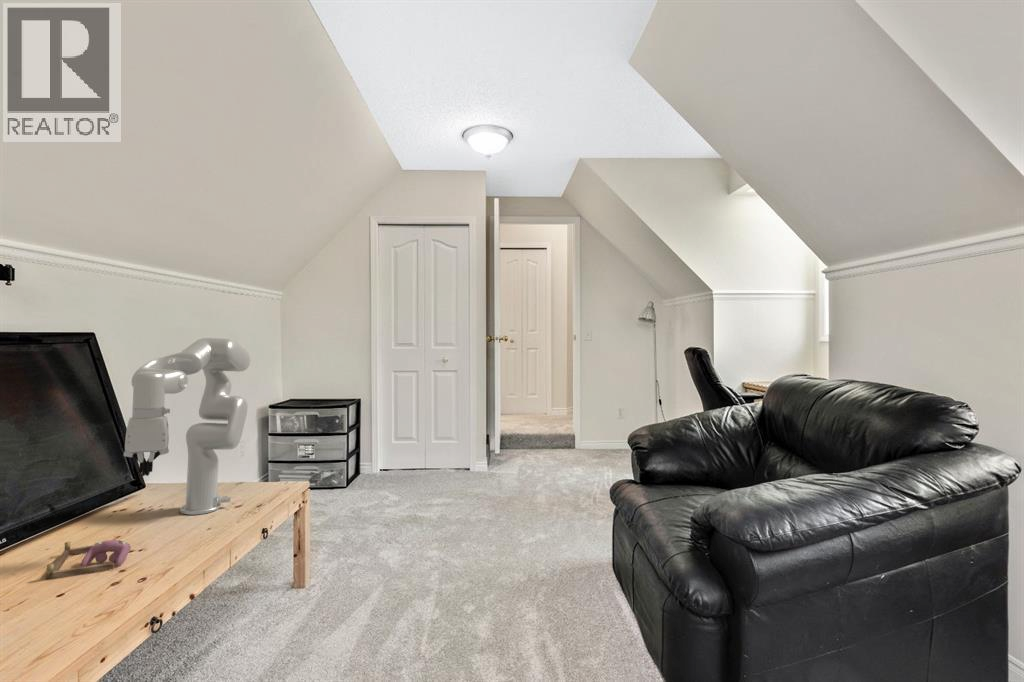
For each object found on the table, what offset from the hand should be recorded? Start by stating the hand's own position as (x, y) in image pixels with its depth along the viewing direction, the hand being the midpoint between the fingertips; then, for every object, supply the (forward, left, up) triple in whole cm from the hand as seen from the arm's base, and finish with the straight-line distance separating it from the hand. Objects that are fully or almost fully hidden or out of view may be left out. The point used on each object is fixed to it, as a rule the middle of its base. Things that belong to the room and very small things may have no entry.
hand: (145, 474), depth 142 cm
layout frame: (+11, +5, -22) cm, 25 cm away
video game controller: (+7, +8, -22) cm, 24 cm away
